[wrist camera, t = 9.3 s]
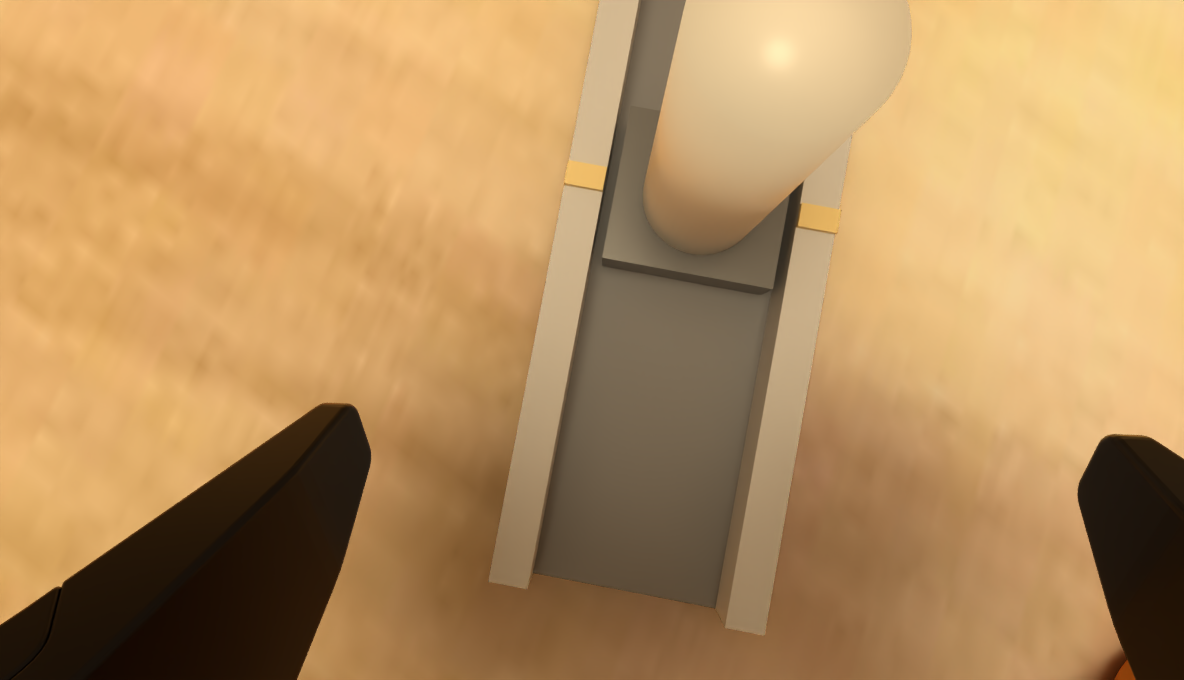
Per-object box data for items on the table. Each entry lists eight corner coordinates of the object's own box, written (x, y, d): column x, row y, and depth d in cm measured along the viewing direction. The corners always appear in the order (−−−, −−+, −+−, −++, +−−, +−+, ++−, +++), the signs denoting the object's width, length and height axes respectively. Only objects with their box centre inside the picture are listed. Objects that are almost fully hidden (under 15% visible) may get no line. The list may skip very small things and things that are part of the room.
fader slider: (760, 295, 20) (938, 208, 9) (602, 265, 20) (603, 148, 9) (786, 152, 20) (988, -88, 10) (628, 124, 20) (659, -145, 10)
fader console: (738, 592, 21) (766, 638, 18) (506, 548, 22) (486, 584, 18) (852, -55, 22) (902, -140, 19) (629, -94, 22) (634, -186, 19)
